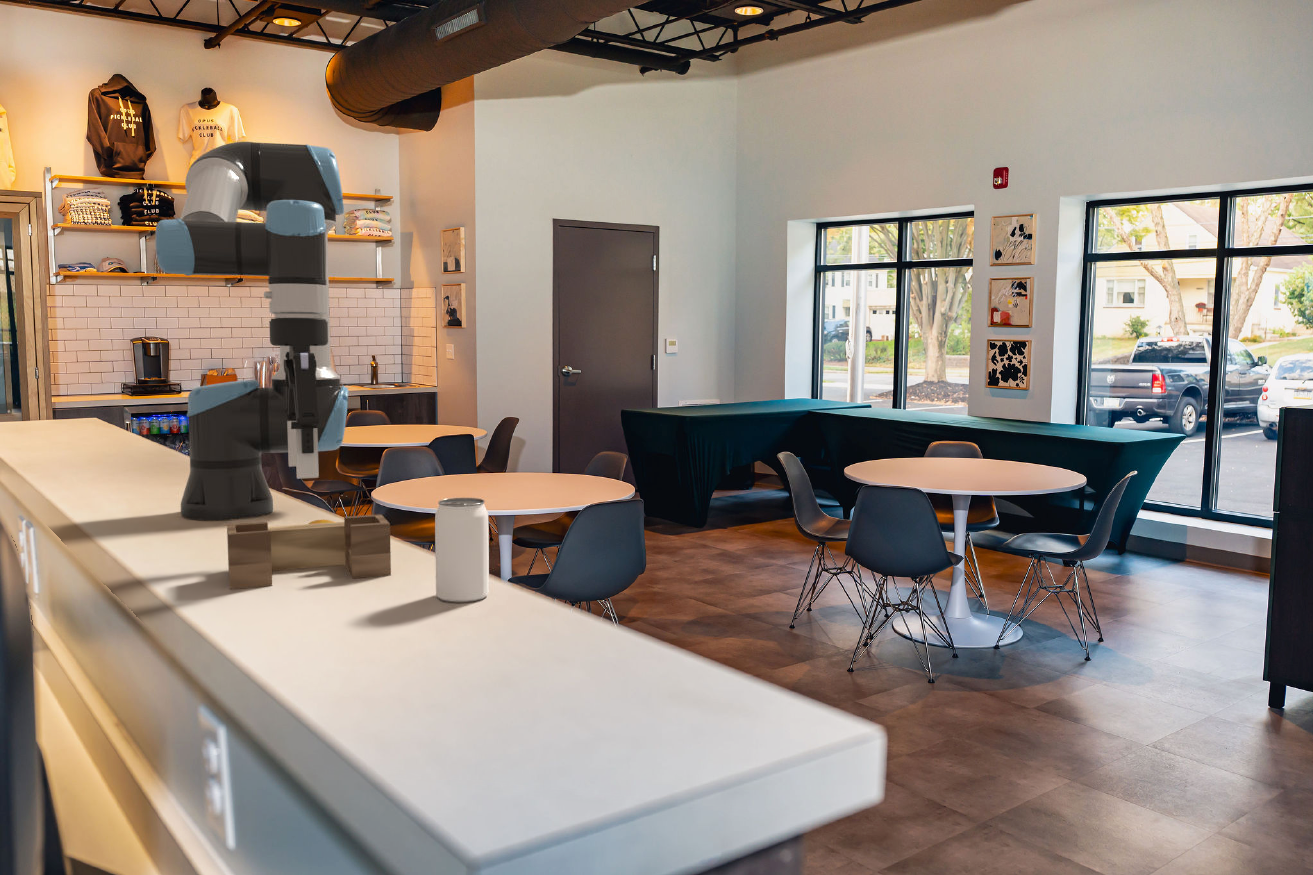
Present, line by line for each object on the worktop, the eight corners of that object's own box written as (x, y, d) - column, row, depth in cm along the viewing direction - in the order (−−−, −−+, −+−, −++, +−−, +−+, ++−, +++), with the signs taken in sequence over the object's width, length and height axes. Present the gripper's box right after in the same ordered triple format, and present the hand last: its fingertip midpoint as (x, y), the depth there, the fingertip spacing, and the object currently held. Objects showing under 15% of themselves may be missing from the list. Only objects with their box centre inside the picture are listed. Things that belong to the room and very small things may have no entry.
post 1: (228, 576, 136) (226, 524, 136) (268, 572, 138) (267, 521, 138) (230, 589, 130) (228, 534, 129) (272, 585, 132) (270, 531, 131)
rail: (243, 567, 141) (242, 528, 140) (363, 558, 148) (362, 520, 147) (244, 572, 138) (243, 532, 138) (366, 562, 145) (365, 524, 144)
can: (477, 605, 123) (476, 506, 122) (427, 601, 125) (425, 504, 123) (496, 591, 130) (495, 498, 128) (448, 588, 131) (447, 496, 130)
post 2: (391, 574, 138) (389, 523, 137) (352, 578, 136) (351, 526, 135) (382, 563, 144) (381, 514, 144) (345, 566, 142) (344, 516, 142)
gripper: (264, 318, 149) (268, 462, 151) (275, 314, 126) (280, 484, 128) (317, 318, 152) (321, 460, 154) (338, 315, 129) (342, 481, 131)
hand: (303, 471), depth 141 cm, fingers open, 13 cm apart
